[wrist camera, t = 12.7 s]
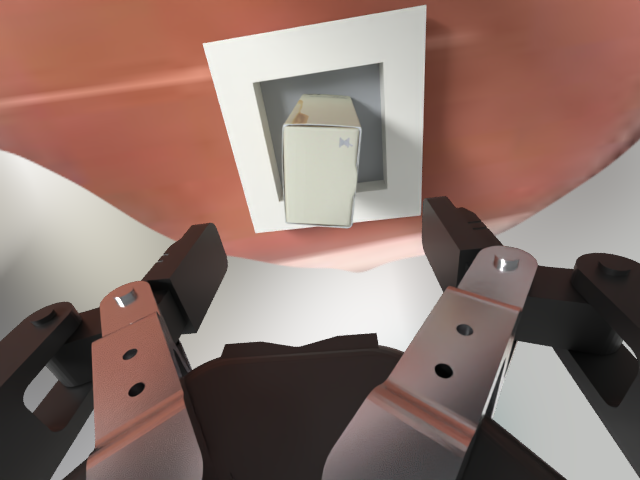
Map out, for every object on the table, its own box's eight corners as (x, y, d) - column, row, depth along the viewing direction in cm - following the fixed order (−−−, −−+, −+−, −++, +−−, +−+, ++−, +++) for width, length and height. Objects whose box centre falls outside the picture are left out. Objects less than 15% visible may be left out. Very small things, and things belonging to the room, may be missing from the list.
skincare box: (301, 92, 26) (279, 116, 16) (352, 95, 26) (364, 120, 16) (300, 166, 30) (282, 226, 19) (345, 169, 30) (352, 230, 19)
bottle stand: (218, 45, 26) (202, 43, 23) (414, 11, 24) (426, 4, 21) (262, 217, 34) (255, 233, 31) (412, 200, 32) (420, 215, 29)
